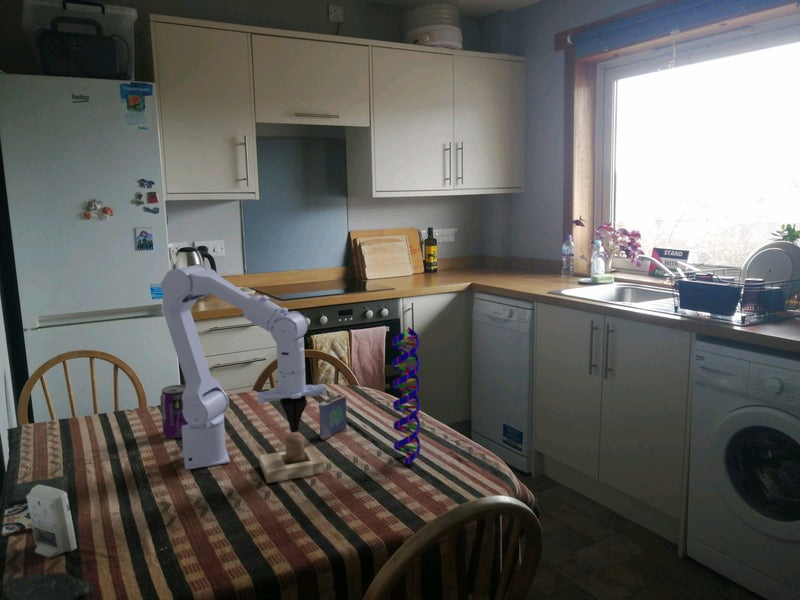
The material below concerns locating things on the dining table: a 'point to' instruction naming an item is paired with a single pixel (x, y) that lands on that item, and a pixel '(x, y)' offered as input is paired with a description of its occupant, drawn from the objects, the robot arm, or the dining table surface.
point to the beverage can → (172, 410)
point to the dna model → (407, 394)
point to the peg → (294, 449)
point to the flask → (332, 416)
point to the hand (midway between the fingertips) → (294, 430)
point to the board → (290, 466)
